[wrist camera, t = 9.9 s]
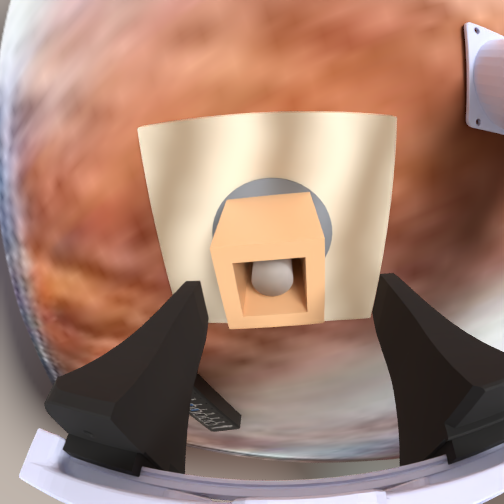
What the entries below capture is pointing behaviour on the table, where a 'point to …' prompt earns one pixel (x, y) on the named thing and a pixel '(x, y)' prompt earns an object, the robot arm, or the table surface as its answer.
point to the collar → (270, 248)
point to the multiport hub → (212, 408)
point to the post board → (274, 183)
